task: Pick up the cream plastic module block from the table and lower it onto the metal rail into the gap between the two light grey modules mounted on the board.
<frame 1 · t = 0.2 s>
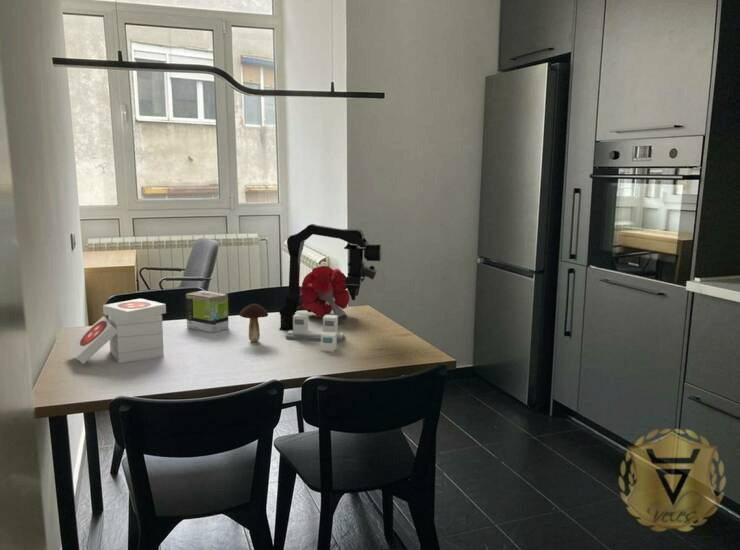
hand: (355, 297, 244), 15 cm above the table, tool pointing down, fingers open, 9 cm apart
bouquet: (326, 317, 271), on the table
decorative mushroom: (254, 342, 230), on the table
pizza boxes: (120, 357, 209), on the table
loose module: (328, 349, 223), on the table
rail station: (315, 337, 237), on the table
tea box: (207, 328, 248), on the table
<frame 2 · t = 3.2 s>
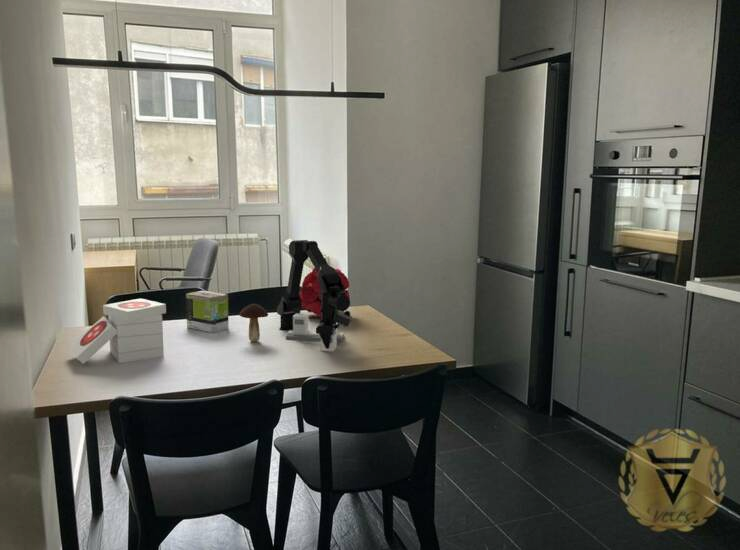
hand: (328, 346, 222), 1 cm above the table, tool pointing down, fingers closed on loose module, 5 cm apart
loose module: (328, 349, 223), on the table, touching gripper
everything else where it was.
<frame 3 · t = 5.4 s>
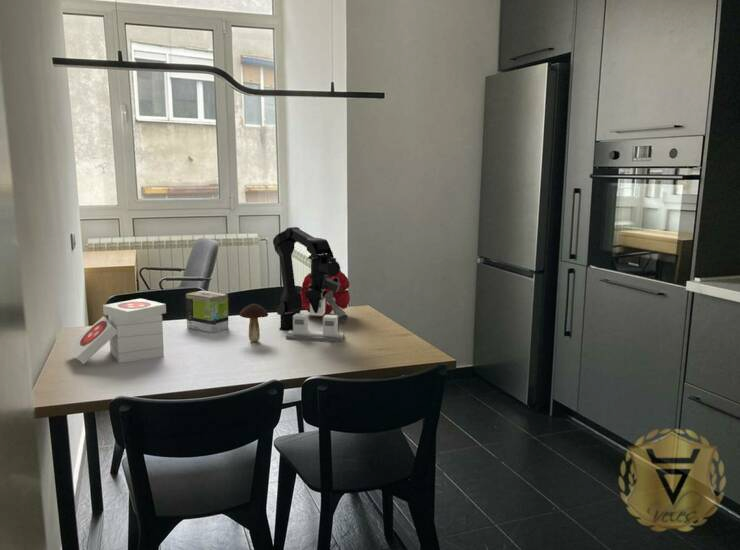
hand: (317, 311, 233), 12 cm above the table, tool pointing down, fingers closed on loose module, 5 cm apart
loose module: (317, 313, 233), point 11 cm above the table, touching gripper
everything else where it was.
when the fingers open (4 cm above the table, at t = 7.9 s): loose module drops 1 cm, resting on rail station.
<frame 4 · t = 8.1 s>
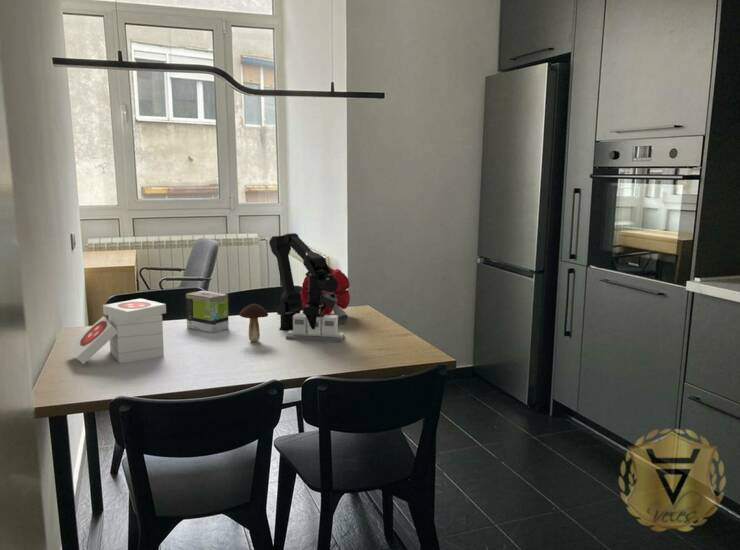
hand: (315, 326, 236), 4 cm above the table, tool pointing down, fingers open, 7 cm apart
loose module: (315, 333, 237), point 2 cm above the table, touching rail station
everything else where it was.
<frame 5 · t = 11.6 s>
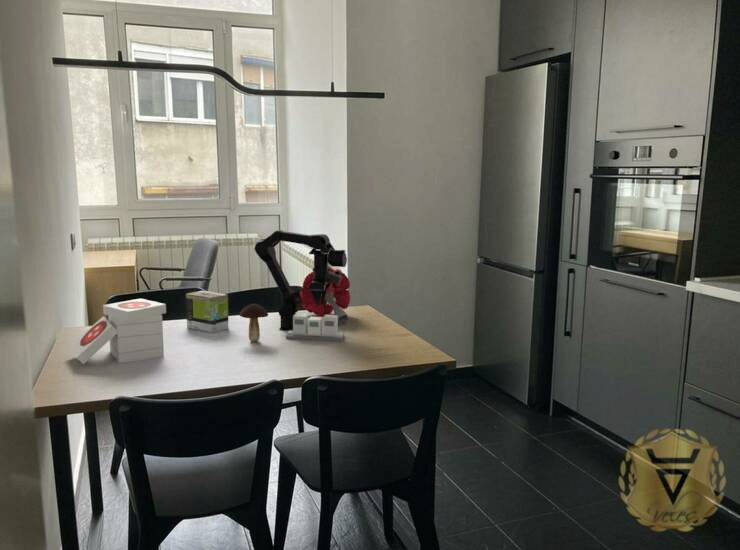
hand: (320, 302, 245), 12 cm above the table, tool pointing down, fingers open, 9 cm apart
nothing on the table moved.
at the end: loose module 0.2 cm off-centre on the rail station, point 2.0 cm above the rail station's base; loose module tilted 0°; the gripper is holding nothing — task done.
